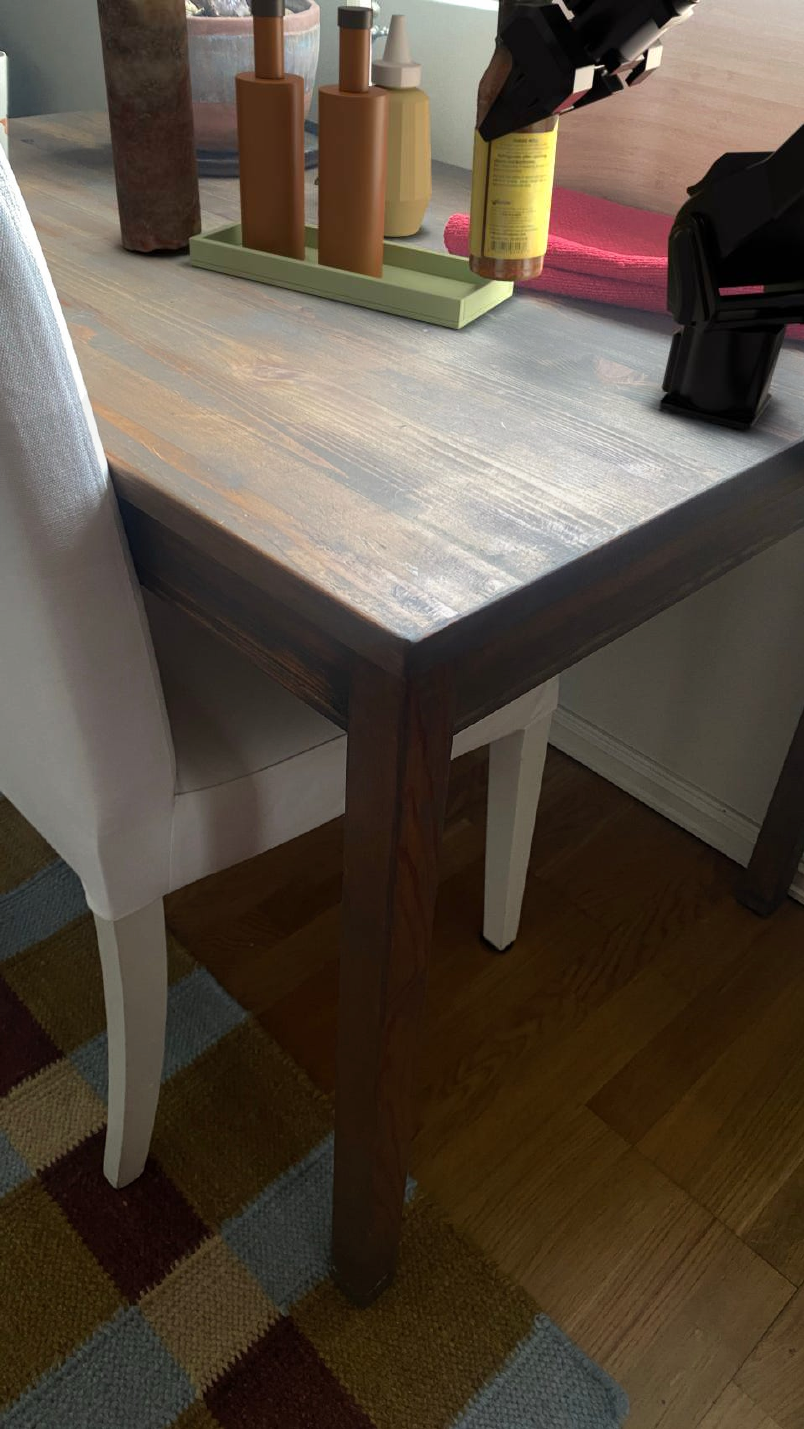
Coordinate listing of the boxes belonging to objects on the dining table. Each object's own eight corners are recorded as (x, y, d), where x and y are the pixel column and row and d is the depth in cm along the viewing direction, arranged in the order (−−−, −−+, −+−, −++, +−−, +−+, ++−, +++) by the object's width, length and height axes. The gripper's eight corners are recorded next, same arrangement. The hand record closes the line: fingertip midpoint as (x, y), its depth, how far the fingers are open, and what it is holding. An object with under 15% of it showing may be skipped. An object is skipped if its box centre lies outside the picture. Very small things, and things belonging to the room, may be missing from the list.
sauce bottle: (558, 276, 84) (598, -23, 72) (508, 290, 81) (541, -21, 68) (497, 256, 88) (526, -32, 75) (447, 270, 84) (468, -31, 72)
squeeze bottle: (357, 216, 108) (363, 7, 96) (434, 224, 107) (449, 14, 95) (341, 237, 101) (344, 16, 90) (422, 245, 101) (436, 24, 89)
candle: (140, 230, 100) (114, -25, 87) (214, 238, 99) (199, -18, 86) (109, 252, 94) (77, -18, 81) (187, 260, 93) (167, -10, 80)
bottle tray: (512, 295, 90) (544, 23, 78) (458, 329, 83) (484, 35, 70) (259, 238, 100) (251, -14, 87) (190, 265, 92) (170, -7, 80)
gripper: (653, -149, 73) (493, 23, 83) (548, -163, 60) (376, 43, 70) (735, -1, 75) (570, 147, 86) (652, 16, 62) (469, 189, 73)
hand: (501, 130), depth 79 cm, fingers closed on sauce bottle, 6 cm apart
